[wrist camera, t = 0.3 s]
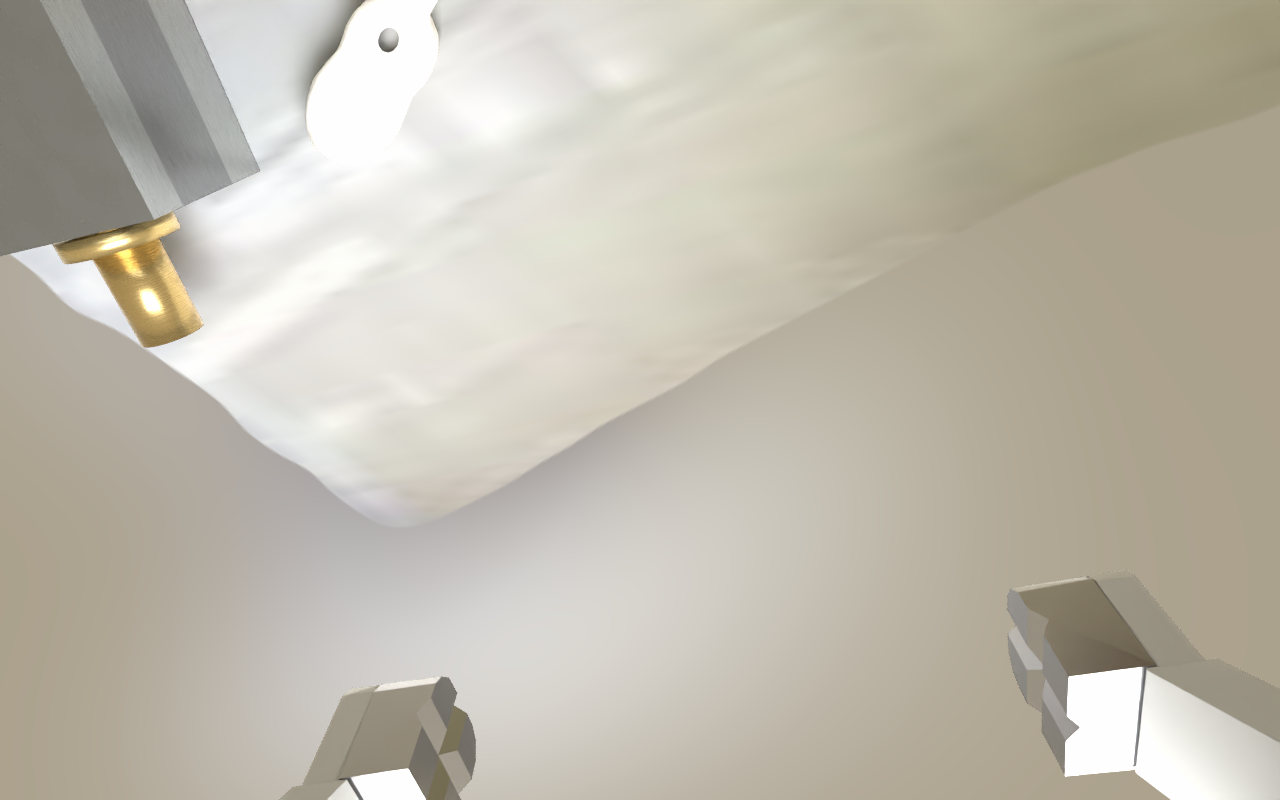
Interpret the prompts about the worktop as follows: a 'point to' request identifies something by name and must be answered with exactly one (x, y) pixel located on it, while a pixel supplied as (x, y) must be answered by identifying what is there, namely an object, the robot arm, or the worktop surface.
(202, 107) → the housing
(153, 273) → the brass collar peg
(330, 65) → the spatula
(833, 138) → the worktop surface
